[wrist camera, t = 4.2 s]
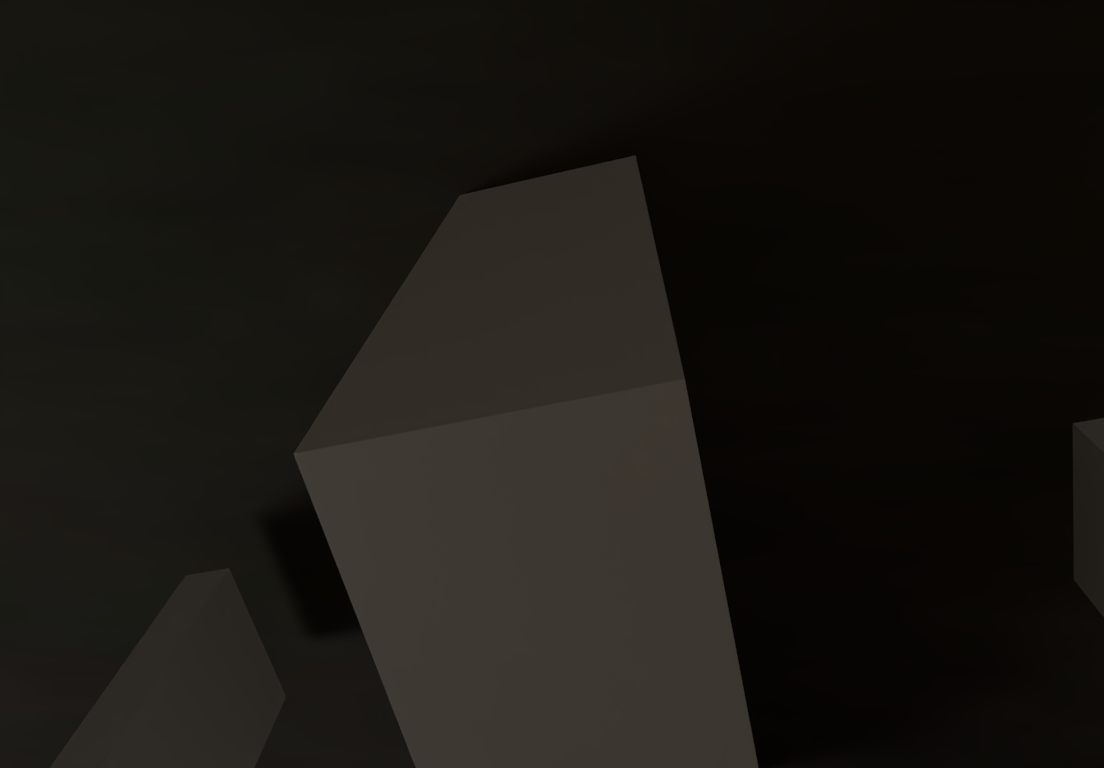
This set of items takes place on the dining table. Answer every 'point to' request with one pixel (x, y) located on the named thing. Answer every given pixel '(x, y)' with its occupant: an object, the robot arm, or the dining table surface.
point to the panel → (533, 495)
